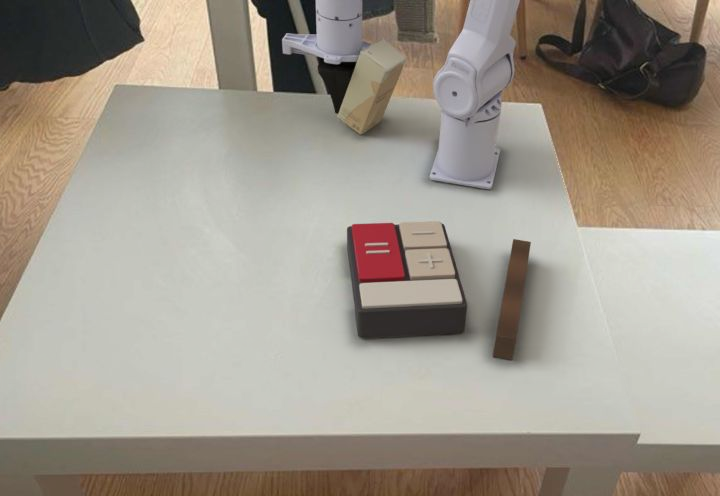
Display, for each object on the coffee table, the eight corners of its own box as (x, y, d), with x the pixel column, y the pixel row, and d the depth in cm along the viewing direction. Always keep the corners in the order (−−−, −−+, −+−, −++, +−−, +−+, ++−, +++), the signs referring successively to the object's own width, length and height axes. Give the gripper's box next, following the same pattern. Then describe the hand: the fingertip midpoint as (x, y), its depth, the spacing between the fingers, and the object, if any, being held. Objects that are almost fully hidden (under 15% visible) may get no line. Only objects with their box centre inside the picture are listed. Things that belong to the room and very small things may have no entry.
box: (360, 136, 109) (385, 71, 101) (335, 116, 110) (358, 50, 101) (382, 120, 113) (408, 56, 104) (358, 101, 113) (382, 36, 104)
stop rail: (509, 259, 93) (513, 238, 91) (527, 262, 93) (531, 241, 91) (492, 357, 82) (496, 335, 80) (512, 360, 82) (516, 339, 80)
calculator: (444, 216, 92) (469, 300, 81) (442, 248, 95) (465, 333, 84) (346, 219, 90) (357, 306, 79) (346, 251, 93) (358, 339, 82)
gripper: (272, 14, 99) (278, 115, 108) (389, 33, 98) (385, 133, 108) (289, -8, 104) (294, 91, 113) (401, 10, 103) (396, 107, 113)
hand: (339, 110), depth 111 cm, fingers closed
